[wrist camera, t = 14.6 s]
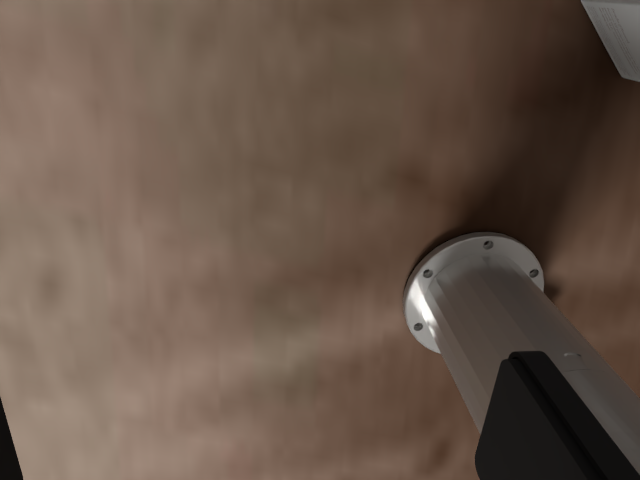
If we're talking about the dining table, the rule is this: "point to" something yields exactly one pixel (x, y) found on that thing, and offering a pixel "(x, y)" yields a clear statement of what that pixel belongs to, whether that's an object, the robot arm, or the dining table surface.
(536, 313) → the robot arm
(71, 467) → the dining table surface
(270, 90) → the dining table surface
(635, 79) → the supplement box
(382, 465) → the dining table surface
